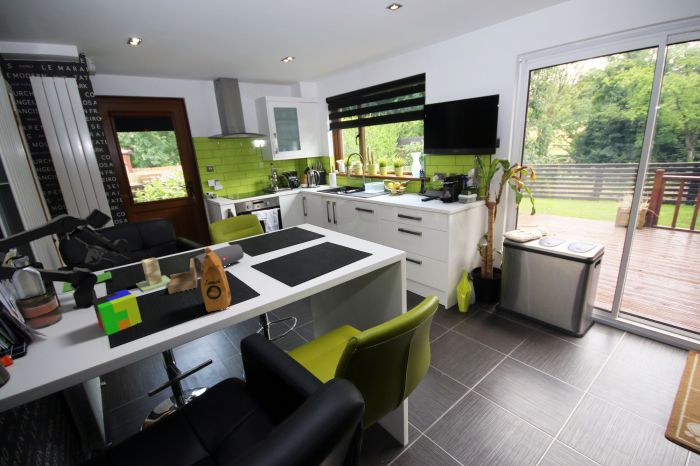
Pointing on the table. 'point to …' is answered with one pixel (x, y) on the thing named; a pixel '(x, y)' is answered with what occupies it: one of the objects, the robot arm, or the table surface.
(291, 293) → the table surface
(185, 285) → the light wood angled piece
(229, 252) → the bluetooth speaker
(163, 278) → the olive mat
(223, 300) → the coffee package
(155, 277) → the beech block
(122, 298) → the puzzle toy
